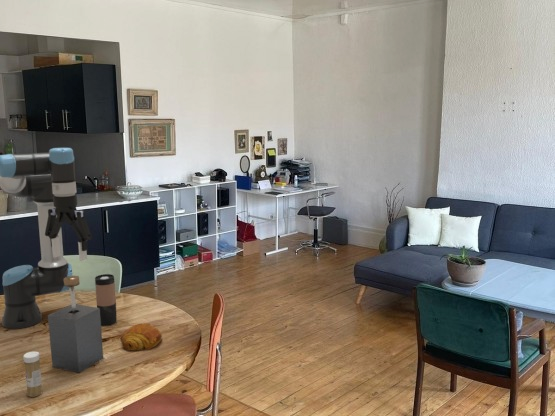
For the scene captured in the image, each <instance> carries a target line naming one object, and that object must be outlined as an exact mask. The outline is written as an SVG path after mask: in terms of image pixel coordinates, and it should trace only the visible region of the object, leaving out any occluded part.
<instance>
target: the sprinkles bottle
mask: <svg viewBox="0 0 555 416" xmlns="http://www.w3.org/2000/svg"><path fill="white" fill-rule="evenodd" d="M40 358H41V357H40V353H39V352H38V351H36V350H35V351H28V352H26V353H24V354H23V356H22V359H23V363H24V371H25V373H24V374H25V383H26V392H27V393H26V395H27V396H28V397H29V398H33V397H38V396H40V395H42V393H43V389H42V387H43V386H42V375H41V374H42V373H41V372H42V371H41V367H40Z"/></svg>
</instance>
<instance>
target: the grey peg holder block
mask: <svg viewBox="0 0 555 416" xmlns="http://www.w3.org/2000/svg"><path fill="white" fill-rule="evenodd" d="M47 322H48V333H49V334H48V335H49V342H50V355H51V366H52V368H55V369H60V370H63V371H68V372H72V373H77V374H81V373H82V372H84V371H85V370H88V368H90V367H92V366H93V365H95V364H97V363H98V362H101V361H102V360H104V351H103V337H102V336H103V335H102V326H101V319H100V308H97V306H96V307H94V306H89V305H83V304H78V303H76V313H75V314H73V313H72V306H71V304H69V305H67V306H65V307H63V308H60V309H59V310H58V309H57V310H56V311H54V312H52V313H50V314H48V315H47Z"/></svg>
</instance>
